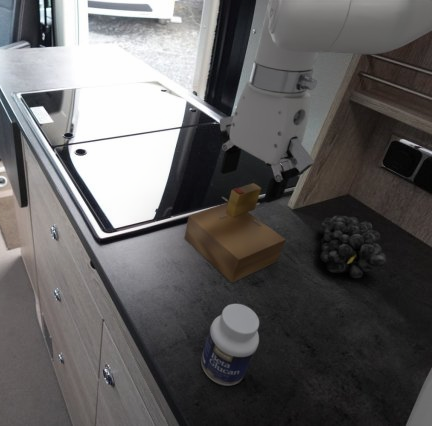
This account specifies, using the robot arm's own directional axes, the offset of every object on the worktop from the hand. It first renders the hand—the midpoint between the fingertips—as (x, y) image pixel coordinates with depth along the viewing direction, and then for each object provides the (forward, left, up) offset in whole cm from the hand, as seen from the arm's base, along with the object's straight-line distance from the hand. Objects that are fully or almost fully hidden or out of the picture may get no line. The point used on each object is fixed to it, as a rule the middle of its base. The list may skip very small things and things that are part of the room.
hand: (248, 184), depth 61 cm
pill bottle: (-19, +20, -11) cm, 29 cm away
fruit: (-13, -12, -11) cm, 21 cm away
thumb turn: (0, 0, -6) cm, 6 cm away
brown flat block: (-2, +2, -11) cm, 11 cm away
